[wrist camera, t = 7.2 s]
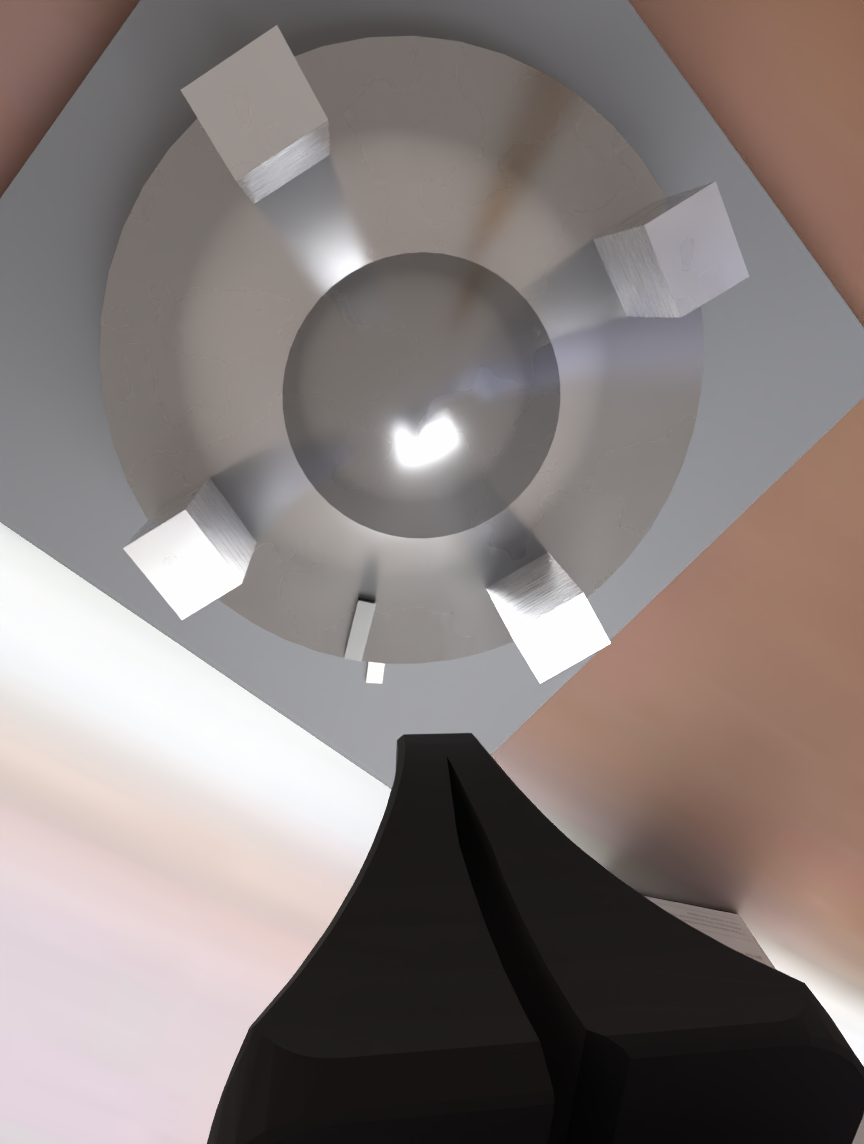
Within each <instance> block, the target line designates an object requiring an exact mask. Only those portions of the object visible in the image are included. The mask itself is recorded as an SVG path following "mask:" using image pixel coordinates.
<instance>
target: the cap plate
mask: <svg viewBox="0 0 864 1144" xmlns="http://www.w3.org/2000/svg"><path fill="white" fill-rule="evenodd" d="M276 25H277V26H278V28H279V29H280V31H281V33H282V35H283V37H284V39H285V41H286V42H287V44H288V46H289V48H290V50H291V52H292V54H293V55H294V57H295V56H297V55H300V54H303V53H305V52H308V51H311V50H314V49H316V48H319V47H322V46H326V45H331V44H336V43H341V42H347V41H352V40H357V39H362V38H367V37H390V36H421V37H429V38H437V39H445V40H453V41H460V42H464V43H467V44H471V45H474V46H478V47H481V48H485V49H488V50H492V51H495V52H499V53H502V54H505V55H507V56H509V57H511V58H513V59H516V60H518V61H520V62H522V63H524V64H526V65H529V66H531V67H533V68H535V69H537V70H539V71H542V72H544V73H545V74H547V75H548V76H550V77H551V78H553V79H554V80H556V81H557V82H559V83H560V84H562V85H564V86H565V87H567V88H568V89H570V90H571V91H573V92H574V93H576V94H577V95H579V96H580V97H582V98H583V99H584V100H585V101H586V102H587V103H588V104H589V105H591V106H592V107H593V108H594V109H595V110H596V111H597V112H598V113H600V114H601V115H602V116H603V117H604V118H605V119H606V120H607V121H608V122H610V123H611V124H612V125H613V126H614V127H615V128H616V129H617V131H618V132H619V133H620V134H621V135H622V136H623V138H624V139H625V140H626V141H627V142H628V144H629V145H630V146H631V147H632V148H633V150H634V151H635V152H636V153H637V154H638V155H639V157H640V158H641V159H642V160H643V162H644V164H645V165H646V167H647V168H648V170H649V171H650V173H651V175H652V176H653V178H654V179H655V181H656V183H657V184H658V186H659V187H660V189H661V190H662V192H663V194H664V195H665V197H666V198H667V197H670V196H673V195H676V194H679V193H682V192H685V191H688V190H691V189H694V188H697V187H700V186H703V185H706V184H709V183H711V182H714V181H716V183H717V186H718V189H719V192H720V195H721V197H722V200H723V203H724V206H725V209H726V212H727V214H728V217H729V220H730V223H731V226H732V229H733V231H734V234H735V237H736V240H737V243H738V246H739V248H740V251H741V254H742V257H743V260H744V263H745V265H746V268H747V271H748V274H749V277H748V278H746V279H744V280H743V281H741V282H739V283H738V284H736V285H734V286H733V287H731V288H729V289H728V290H726V291H724V292H723V293H721V294H719V295H718V296H716V297H715V298H713V299H711V300H710V301H708V302H706V303H705V304H703V305H701V306H700V307H701V313H702V330H703V349H704V356H703V371H702V385H701V395H700V400H699V405H698V411H697V416H696V421H695V426H694V431H693V434H692V437H691V440H690V444H689V447H688V450H687V453H686V456H685V460H684V463H683V466H682V468H681V470H680V473H679V475H678V477H677V479H676V481H675V484H674V486H673V488H672V490H671V493H670V495H669V497H668V499H667V501H666V503H665V504H664V506H663V508H662V509H661V511H660V513H659V514H658V516H657V518H656V520H655V521H654V523H653V525H652V526H651V528H650V530H649V531H648V532H647V534H646V535H645V536H644V538H643V539H642V540H641V542H640V543H639V544H638V546H637V547H636V548H635V550H634V551H633V552H632V554H631V555H630V556H629V557H628V559H627V560H626V561H625V562H624V563H623V564H622V565H621V566H620V567H619V568H618V569H617V570H616V571H615V572H614V573H613V574H612V575H611V577H610V578H609V579H608V580H607V581H606V582H605V583H604V584H603V585H602V586H600V587H599V588H598V589H597V590H596V591H594V592H593V593H592V594H591V595H590V596H588V597H587V600H588V602H589V604H590V606H591V608H592V609H593V611H594V613H595V615H596V617H597V619H598V621H599V622H600V624H601V626H602V628H603V630H604V632H605V634H606V635H607V637H608V639H609V641H610V640H611V639H612V638H613V637H614V636H615V635H616V634H617V633H618V632H619V631H620V630H621V629H622V628H623V627H624V626H625V625H626V624H628V623H629V622H630V621H631V620H632V619H633V618H634V617H635V616H636V615H637V614H638V613H639V612H640V611H641V610H642V609H643V608H644V607H645V606H646V605H647V604H648V603H649V602H650V601H652V600H653V599H654V598H655V597H656V596H657V595H658V594H659V593H660V592H661V591H662V590H663V589H664V588H665V587H666V586H667V585H668V584H669V583H670V582H671V581H672V580H673V579H674V578H675V577H677V576H678V575H679V574H680V573H681V572H682V571H683V570H684V569H685V568H686V567H687V566H688V565H689V564H690V563H691V562H692V561H693V560H694V559H695V558H696V557H697V556H698V555H699V554H701V553H702V552H703V551H704V550H705V549H706V548H707V547H708V546H709V545H710V544H711V543H712V542H713V541H714V540H715V539H716V538H717V537H718V536H719V535H720V534H721V533H722V532H723V531H724V530H726V529H727V528H728V527H729V526H730V525H731V524H732V523H733V522H734V521H735V520H736V519H737V518H738V517H739V516H740V515H741V514H742V513H743V512H744V511H745V510H746V509H747V508H748V507H750V506H751V505H752V504H753V503H754V502H755V501H756V500H757V499H758V498H759V497H760V496H761V495H762V494H763V493H764V492H765V491H766V490H767V489H768V488H769V487H770V486H771V485H772V484H773V483H775V482H776V481H777V480H778V479H779V478H780V477H781V476H782V475H783V474H784V473H785V472H786V471H787V470H788V469H789V468H790V467H791V466H792V465H793V464H794V463H795V462H796V461H797V460H799V459H800V458H801V457H802V456H803V455H804V454H805V453H806V452H807V451H808V450H809V449H810V448H811V447H812V446H813V445H814V444H815V443H816V442H817V441H818V440H819V439H820V438H821V437H822V436H824V435H825V434H826V433H827V432H828V431H829V430H830V429H831V428H832V427H833V426H834V425H835V424H836V423H837V422H838V421H839V420H840V419H841V418H842V417H843V416H844V415H845V414H846V413H848V412H849V411H850V410H851V409H852V408H853V407H854V406H855V405H856V404H857V403H858V402H859V401H860V400H861V399H862V398H863V397H864V327H863V326H862V325H861V323H860V322H859V320H858V319H857V318H856V316H855V315H854V314H853V312H852V311H851V309H850V308H849V307H848V305H847V304H846V302H845V301H844V300H843V298H842V297H841V295H840V294H839V293H838V291H837V290H836V289H835V287H834V286H833V284H832V283H831V282H830V280H829V279H828V277H827V276H826V275H825V273H824V272H823V270H822V269H821V268H820V266H819V265H818V263H817V262H816V261H815V259H814V258H813V257H812V255H811V254H810V252H809V251H808V250H807V248H806V247H805V245H804V244H803V243H802V241H801V240H800V238H799V237H798V236H797V234H796V233H795V232H794V230H793V229H792V227H791V226H790V225H789V223H788V222H787V220H786V219H785V218H784V216H783V215H782V213H781V212H780V211H779V209H778V208H777V206H776V205H775V204H774V202H773V201H772V200H771V198H770V197H769V195H768V194H767V193H766V191H765V190H764V188H763V187H762V186H761V184H760V183H759V181H758V180H757V179H756V177H755V176H754V175H753V173H752V172H751V170H750V169H749V168H748V166H747V165H746V163H745V162H744V161H743V159H742V158H741V156H740V155H739V154H738V152H737V151H736V149H735V148H734V147H733V145H732V144H731V143H730V141H729V140H728V138H727V137H726V136H725V134H724V133H723V131H722V130H721V129H720V127H719V126H718V124H717V123H716V122H715V120H714V119H713V118H712V116H711V115H710V113H709V112H708V111H707V109H706V108H705V106H704V105H703V104H702V102H701V101H700V99H699V98H698V97H697V95H696V94H695V92H694V91H693V90H692V88H691V87H690V86H689V84H688V83H687V81H686V80H685V79H684V77H683V76H682V74H681V73H680V72H679V70H678V69H677V67H676V66H675V65H674V63H673V62H672V61H671V59H670V58H669V56H668V55H667V54H666V52H665V51H664V49H663V48H662V47H661V45H660V44H659V42H658V41H657V40H656V38H655V37H654V35H653V34H652V33H651V31H650V30H649V29H648V27H647V26H646V24H645V23H644V22H643V20H642V19H641V17H640V16H639V15H638V13H637V12H636V10H635V9H634V8H633V6H632V5H631V3H630V2H629V1H628V0H140V1H139V3H138V4H137V5H136V7H135V8H134V10H133V11H132V13H131V14H130V15H129V17H128V18H127V20H126V21H125V22H124V24H123V25H122V27H121V28H120V30H119V31H118V32H117V34H116V35H115V37H114V38H113V39H112V41H111V42H110V44H109V45H108V47H107V48H106V49H105V51H104V52H103V54H102V55H101V56H100V58H99V59H98V61H97V62H96V64H95V65H94V66H93V68H92V69H91V71H90V72H89V73H88V75H87V76H86V78H85V79H84V81H83V82H82V83H81V85H80V86H79V88H78V89H77V90H76V92H75V93H74V95H73V96H72V98H71V99H70V100H69V102H68V103H67V105H66V106H65V107H64V109H63V110H62V112H61V113H60V115H59V116H58V117H57V119H56V120H55V122H54V123H53V124H52V126H51V127H50V129H49V130H48V132H47V133H46V134H45V136H44V137H43V139H42V140H41V141H40V143H39V144H38V146H37V147H36V149H35V150H34V151H33V153H32V154H31V156H30V157H29V158H28V160H27V161H26V163H25V164H24V166H23V167H22V168H21V170H20V171H19V173H18V174H17V175H16V177H15V178H14V180H13V181H12V183H11V184H10V185H9V187H8V188H7V190H6V191H5V192H4V194H3V195H2V197H1V198H0V522H1V523H2V524H4V525H5V526H7V527H8V528H10V529H11V530H13V531H14V532H16V533H17V534H19V535H20V536H21V537H23V538H24V539H26V540H27V541H29V542H30V543H32V544H33V545H35V546H36V547H38V548H39V549H41V550H42V551H43V552H45V553H46V554H48V555H49V556H51V557H52V558H54V559H55V560H57V561H58V562H60V563H61V564H63V565H64V566H65V567H67V568H68V569H70V570H71V571H73V572H74V573H76V574H77V575H79V576H80V577H82V578H83V579H84V580H86V581H87V582H89V583H90V584H92V585H93V586H95V587H96V588H98V589H99V590H101V591H102V592H104V593H105V594H106V595H108V596H109V597H111V598H112V599H114V600H115V601H117V602H118V603H120V604H121V605H123V606H124V607H126V608H127V609H128V610H130V611H131V612H133V613H134V614H136V615H137V616H139V617H140V618H142V619H143V620H145V621H146V622H147V623H149V624H150V625H152V626H153V627H155V628H156V629H158V630H159V631H161V632H162V633H164V634H165V635H167V636H168V637H169V638H171V639H172V640H174V641H175V642H177V643H178V644H180V645H181V646H183V647H184V648H186V649H187V650H189V651H190V652H191V653H193V654H194V655H196V656H197V657H199V658H200V659H202V660H203V661H205V662H206V663H208V664H209V665H210V666H212V667H213V668H215V669H216V670H218V671H219V672H221V673H222V674H224V675H225V676H227V677H228V678H230V679H231V680H232V681H234V682H235V683H237V684H238V685H240V686H241V687H243V688H244V689H246V690H247V691H249V692H250V693H252V694H253V695H254V696H256V697H257V698H259V699H260V700H262V701H263V702H265V703H266V704H268V705H269V706H271V707H272V708H273V709H275V710H276V711H278V712H279V713H281V714H282V715H284V716H285V717H287V718H288V719H290V720H291V721H293V722H294V723H295V724H297V725H298V726H300V727H301V728H303V729H304V730H306V731H307V732H309V733H310V734H312V735H313V736H315V737H316V738H317V739H319V740H320V741H322V742H323V743H325V744H326V745H328V746H329V747H331V748H332V749H334V750H335V751H336V752H338V753H339V754H341V755H342V756H344V757H345V758H347V759H348V760H350V761H351V762H353V763H354V764H356V765H357V766H358V767H360V768H361V769H363V770H364V771H366V772H367V773H369V774H370V775H372V776H373V777H375V778H376V779H377V780H379V781H380V782H382V783H383V784H385V785H386V786H388V787H389V788H391V789H392V786H393V783H394V778H395V772H396V748H397V740H398V739H399V738H400V737H401V736H402V735H403V734H442V733H472V734H473V735H474V736H475V737H476V738H477V739H478V741H479V742H480V743H481V744H482V745H483V747H484V748H485V749H486V750H487V752H488V753H489V754H490V755H491V754H492V753H493V752H494V751H495V750H496V749H497V748H498V747H499V746H500V745H501V744H502V743H503V742H505V741H506V740H507V739H508V738H509V737H510V736H511V735H512V734H513V733H514V732H515V731H516V730H517V729H518V728H519V727H520V726H521V725H522V724H523V723H524V722H525V721H526V720H527V719H529V718H530V717H531V716H532V715H533V714H534V713H535V712H536V711H537V710H538V709H539V708H540V707H541V706H542V705H543V704H544V703H545V702H546V701H547V700H548V699H549V698H550V697H551V696H552V695H554V694H555V693H556V692H557V691H558V690H559V689H560V688H561V687H562V686H563V685H564V684H565V683H566V682H567V681H568V680H569V679H570V678H571V677H572V676H573V675H574V674H575V673H576V672H578V671H579V670H580V669H581V668H582V667H583V666H584V665H585V664H586V663H587V662H588V661H589V660H590V659H591V658H592V657H593V656H594V655H595V654H596V653H597V652H598V651H599V650H598V651H596V652H594V653H593V654H591V655H589V656H587V657H586V658H584V659H582V660H580V661H579V662H577V663H575V664H573V665H572V666H570V667H568V668H566V669H565V670H563V671H561V672H559V673H558V674H556V675H554V676H552V677H551V678H549V679H547V680H545V681H544V682H542V683H540V682H539V681H538V679H537V677H536V676H535V674H534V672H533V671H532V669H531V668H530V666H529V664H528V663H527V661H526V659H525V658H524V656H523V654H522V653H521V651H520V649H519V648H518V646H517V644H516V643H515V641H514V642H511V643H508V644H506V645H503V646H500V647H498V648H495V649H492V650H489V651H487V652H483V653H479V654H474V655H470V656H466V657H462V658H458V659H454V660H446V661H437V662H429V663H421V664H384V663H375V662H366V661H362V662H360V661H354V660H349V659H344V658H342V657H338V656H334V655H329V654H325V653H321V652H317V651H314V650H312V649H309V648H306V647H304V646H301V645H298V644H295V643H293V642H290V641H287V640H285V639H283V638H281V637H279V636H277V635H275V634H273V633H271V632H269V631H267V630H265V629H263V628H261V627H259V626H257V625H255V624H253V623H252V622H250V621H249V620H247V619H246V618H244V617H243V616H241V615H240V614H238V613H237V612H235V611H234V610H232V609H231V608H229V607H228V606H226V605H225V604H223V603H222V602H221V601H220V600H219V599H218V598H217V599H216V600H214V601H212V602H211V603H209V604H207V605H206V606H204V607H202V608H201V609H199V610H197V611H196V612H194V613H192V614H191V615H189V616H188V617H186V618H184V619H183V620H182V619H181V618H180V617H179V616H178V614H177V613H176V612H175V611H174V610H173V608H172V607H171V606H170V605H169V604H168V602H167V601H166V600H165V599H164V597H163V596H162V595H161V594H160V593H159V591H158V590H157V589H156V588H155V587H154V585H153V584H152V583H151V582H150V580H149V579H148V578H147V577H146V576H145V574H144V573H143V572H142V571H141V570H140V568H139V567H138V566H137V565H136V564H135V562H134V561H133V560H132V559H131V557H130V556H129V555H128V554H127V553H126V551H125V550H124V549H123V548H124V546H125V545H126V544H127V543H128V542H129V541H130V540H131V539H132V538H133V537H134V535H135V534H136V533H137V532H138V531H139V530H140V529H141V528H142V527H143V525H144V524H145V523H146V522H147V521H148V519H147V518H146V516H145V514H144V512H143V510H142V509H141V507H140V505H139V503H138V501H137V499H136V497H135V495H134V493H133V491H132V490H131V488H130V486H129V484H128V482H127V479H126V476H125V474H124V471H123V468H122V466H121V463H120V460H119V458H118V455H117V452H116V450H115V447H114V444H113V440H112V436H111V432H110V427H109V423H108V419H107V414H106V410H105V406H104V400H103V390H102V379H101V369H100V334H101V314H102V308H103V302H104V296H105V291H106V285H107V279H108V273H109V269H110V266H111V263H112V260H113V257H114V254H115V251H116V248H117V245H118V242H119V238H120V235H121V232H122V229H123V227H124V225H125V223H126V221H127V219H128V216H129V214H130V212H131V210H132V208H133V206H134V204H135V202H136V200H137V198H138V196H139V194H140V192H141V190H142V188H143V186H144V185H145V183H146V182H147V180H148V179H149V177H150V176H151V174H152V173H153V171H154V170H155V169H156V167H157V166H158V164H159V163H160V161H161V160H162V158H163V157H164V155H165V154H166V152H167V151H168V150H169V148H170V147H171V146H172V145H173V144H174V143H175V142H176V141H177V140H178V139H179V137H180V136H181V135H182V134H183V133H184V132H185V131H186V130H187V129H188V128H189V127H190V126H191V125H192V124H193V122H194V121H195V120H196V119H197V116H196V115H195V113H194V111H193V110H192V108H191V106H190V105H189V103H188V101H187V100H186V98H185V97H184V95H183V93H182V92H181V89H183V88H184V87H186V86H187V85H189V84H190V83H192V82H193V81H195V80H196V79H197V78H199V77H200V76H202V75H203V74H205V73H206V72H208V71H209V70H211V69H212V68H214V67H215V66H217V65H218V64H220V63H221V62H223V61H224V60H226V59H227V58H229V57H230V56H232V55H233V54H235V53H236V52H238V51H239V50H240V49H242V48H243V47H245V46H246V45H248V44H249V43H251V42H252V41H254V40H255V39H257V38H258V37H260V36H261V35H263V34H264V33H266V32H267V31H269V30H270V29H272V28H273V27H275V26H276Z"/></svg>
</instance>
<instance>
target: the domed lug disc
mask: <svg viewBox="0 0 864 1144" xmlns="http://www.w3.org/2000/svg"><path fill="white" fill-rule="evenodd" d="M181 92H182V93H183V95H184V97H185V98H186V100H187V101H188V103H189V105H190V106H191V108H192V110H193V111H194V113H195V115H196V116H197V119H196V120H195V121H194V122H193V124H192V125H191V126H190V127H189V128H188V129H187V130H186V131H185V132H184V133H183V134H182V135H181V136H180V137H179V139H178V140H177V141H176V142H175V143H174V144H173V145H172V146H171V147H170V148H169V150H168V151H167V152H166V154H165V155H164V157H163V158H162V160H161V161H160V163H159V164H158V166H157V167H156V169H155V170H154V171H153V173H152V174H151V176H150V177H149V179H148V180H147V182H146V183H145V185H144V186H143V188H142V190H141V192H140V194H139V196H138V198H137V200H136V202H135V204H134V206H133V208H132V210H131V212H130V214H129V216H128V219H127V221H126V223H125V225H124V227H123V229H122V232H121V235H120V238H119V242H118V245H117V248H116V251H115V254H114V257H113V260H112V263H111V266H110V269H109V273H108V279H107V285H106V291H105V296H104V302H103V308H102V314H101V334H100V369H101V379H102V390H103V400H104V406H105V410H106V414H107V419H108V423H109V427H110V432H111V436H112V440H113V444H114V447H115V450H116V452H117V455H118V458H119V460H120V463H121V466H122V468H123V471H124V474H125V476H126V479H127V482H128V484H129V486H130V488H131V490H132V491H133V493H134V495H135V497H136V499H137V501H138V503H139V505H140V507H141V509H142V510H143V512H144V514H145V516H146V518H147V519H148V521H147V522H146V523H145V524H144V525H143V527H142V528H141V529H140V530H139V531H138V532H137V533H136V534H135V535H134V537H133V538H132V539H131V540H130V541H129V542H128V543H127V544H126V545H125V546H124V548H123V549H124V550H125V551H126V553H127V554H128V555H129V556H130V557H131V559H132V560H133V561H134V562H135V564H136V565H137V566H138V567H139V568H140V570H141V571H142V572H143V573H144V574H145V576H146V577H147V578H148V579H149V580H150V582H151V583H152V584H153V585H154V587H155V588H156V589H157V590H158V591H159V593H160V594H161V595H162V596H163V597H164V599H165V600H166V601H167V602H168V604H169V605H170V606H171V607H172V608H173V610H174V611H175V612H176V613H177V614H178V616H179V617H180V618H181V619H182V620H183V619H184V618H186V617H188V616H189V615H191V614H192V613H194V612H196V611H197V610H199V609H201V608H202V607H204V606H206V605H207V604H209V603H211V602H212V601H214V600H216V599H217V598H218V599H219V600H220V601H221V602H222V603H223V604H225V605H226V606H228V607H229V608H231V609H232V610H234V611H235V612H237V613H238V614H240V615H241V616H243V617H244V618H246V619H247V620H249V621H250V622H252V623H253V624H255V625H257V626H259V627H261V628H263V629H265V630H267V631H269V632H271V633H273V634H275V635H277V636H279V637H281V638H283V639H285V640H287V641H290V642H293V643H295V644H298V645H301V646H304V647H306V648H309V649H312V650H314V651H317V652H321V653H325V654H329V655H334V656H338V657H342V658H344V659H349V660H354V661H360V662H362V661H366V662H375V663H384V664H421V663H429V662H437V661H446V660H454V659H458V658H462V657H466V656H470V655H474V654H479V653H483V652H487V651H489V650H492V649H495V648H498V647H500V646H503V645H506V644H508V643H511V642H514V641H515V643H516V644H517V646H518V648H519V649H520V651H521V653H522V654H523V656H524V658H525V659H526V661H527V663H528V664H529V666H530V668H531V669H532V671H533V672H534V674H535V676H536V677H537V679H538V681H539V682H540V683H542V682H544V681H545V680H547V679H549V678H551V677H552V676H554V675H556V674H558V673H559V672H561V671H563V670H565V669H566V668H568V667H570V666H572V665H573V664H575V663H577V662H579V661H580V660H582V659H584V658H586V657H587V656H589V655H591V654H593V653H594V652H596V651H598V650H600V649H601V648H603V647H605V646H607V645H608V644H610V641H609V639H608V637H607V635H606V634H605V632H604V630H603V628H602V626H601V624H600V622H599V621H598V619H597V617H596V615H595V613H594V611H593V609H592V608H591V606H590V604H589V602H588V600H587V597H588V596H590V595H591V594H592V593H593V592H594V591H596V590H597V589H598V588H599V587H600V586H602V585H603V584H604V583H605V582H606V581H607V580H608V579H609V578H610V577H611V575H612V574H613V573H614V572H615V571H616V570H617V569H618V568H619V567H620V566H621V565H622V564H623V563H624V562H625V561H626V560H627V559H628V557H629V556H630V555H631V554H632V552H633V551H634V550H635V548H636V547H637V546H638V544H639V543H640V542H641V540H642V539H643V538H644V536H645V535H646V534H647V532H648V531H649V530H650V528H651V526H652V525H653V523H654V521H655V520H656V518H657V516H658V514H659V513H660V511H661V509H662V508H663V506H664V504H665V503H666V501H667V499H668V497H669V495H670V493H671V490H672V488H673V486H674V484H675V481H676V479H677V477H678V475H679V473H680V470H681V468H682V466H683V463H684V460H685V456H686V453H687V450H688V447H689V444H690V440H691V437H692V434H693V431H694V426H695V421H696V416H697V411H698V405H699V400H700V395H701V385H702V371H703V356H704V349H703V330H702V313H701V307H700V306H701V305H703V304H705V303H706V302H708V301H710V300H711V299H713V298H715V297H716V296H718V295H719V294H721V293H723V292H724V291H726V290H728V289H729V288H731V287H733V286H734V285H736V284H738V283H739V282H741V281H743V280H744V279H746V278H748V277H749V274H748V271H747V268H746V265H745V263H744V260H743V257H742V254H741V251H740V248H739V246H738V243H737V240H736V237H735V234H734V231H733V229H732V226H731V223H730V220H729V217H728V214H727V212H726V209H725V206H724V203H723V200H722V197H721V195H720V192H719V189H718V186H717V183H716V181H714V182H711V183H709V184H706V185H703V186H700V187H697V188H694V189H691V190H688V191H685V192H682V193H679V194H676V195H673V196H670V197H667V198H666V197H665V195H664V194H663V192H662V190H661V189H660V187H659V186H658V184H657V183H656V181H655V179H654V178H653V176H652V175H651V173H650V171H649V170H648V168H647V167H646V165H645V164H644V162H643V160H642V159H641V158H640V157H639V155H638V154H637V153H636V152H635V151H634V150H633V148H632V147H631V146H630V145H629V144H628V142H627V141H626V140H625V139H624V138H623V136H622V135H621V134H620V133H619V132H618V131H617V129H616V128H615V127H614V126H613V125H612V124H611V123H610V122H608V121H607V120H606V119H605V118H604V117H603V116H602V115H601V114H600V113H598V112H597V111H596V110H595V109H594V108H593V107H592V106H591V105H589V104H588V103H587V102H586V101H585V100H584V99H583V98H582V97H580V96H579V95H577V94H576V93H574V92H573V91H571V90H570V89H568V88H567V87H565V86H564V85H562V84H560V83H559V82H557V81H556V80H554V79H553V78H551V77H550V76H548V75H547V74H545V73H544V72H542V71H539V70H537V69H535V68H533V67H531V66H529V65H526V64H524V63H522V62H520V61H518V60H516V59H513V58H511V57H509V56H507V55H505V54H502V53H499V52H495V51H492V50H488V49H485V48H481V47H478V46H474V45H471V44H467V43H464V42H460V41H453V40H445V39H437V38H429V37H421V36H390V37H367V38H362V39H357V40H352V41H347V42H341V43H336V44H331V45H326V46H322V47H319V48H316V49H314V50H311V51H308V52H305V53H303V54H300V55H297V56H295V57H294V55H293V54H292V52H291V50H290V48H289V46H288V44H287V42H286V41H285V39H284V37H283V35H282V33H281V31H280V29H279V28H278V26H277V25H276V26H275V27H273V28H272V29H270V30H269V31H267V32H266V33H264V34H263V35H261V36H260V37H258V38H257V39H255V40H254V41H252V42H251V43H249V44H248V45H246V46H245V47H243V48H242V49H240V50H239V51H238V52H236V53H235V54H233V55H232V56H230V57H229V58H227V59H226V60H224V61H223V62H221V63H220V64H218V65H217V66H215V67H214V68H212V69H211V70H209V71H208V72H206V73H205V74H203V75H202V76H200V77H199V78H197V79H196V80H195V81H193V82H192V83H190V84H189V85H187V86H186V87H184V88H183V89H181Z"/></svg>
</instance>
